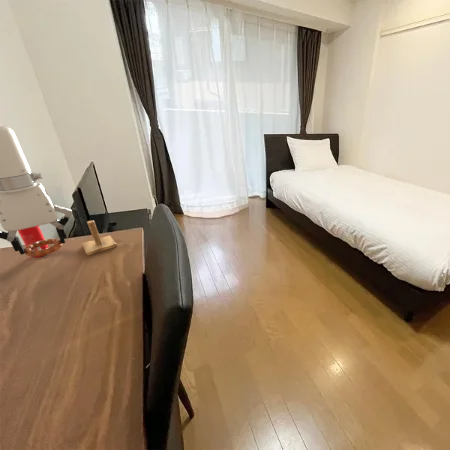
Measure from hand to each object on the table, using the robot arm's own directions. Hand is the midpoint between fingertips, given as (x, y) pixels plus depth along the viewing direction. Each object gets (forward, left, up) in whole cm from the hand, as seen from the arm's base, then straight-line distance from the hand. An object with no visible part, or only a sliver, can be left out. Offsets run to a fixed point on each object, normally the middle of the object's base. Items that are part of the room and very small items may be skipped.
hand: (43, 246), depth 71 cm
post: (+13, +22, -15) cm, 30 cm away
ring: (0, 0, 0) cm, 0 cm away
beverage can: (-3, +30, -15) cm, 34 cm away
